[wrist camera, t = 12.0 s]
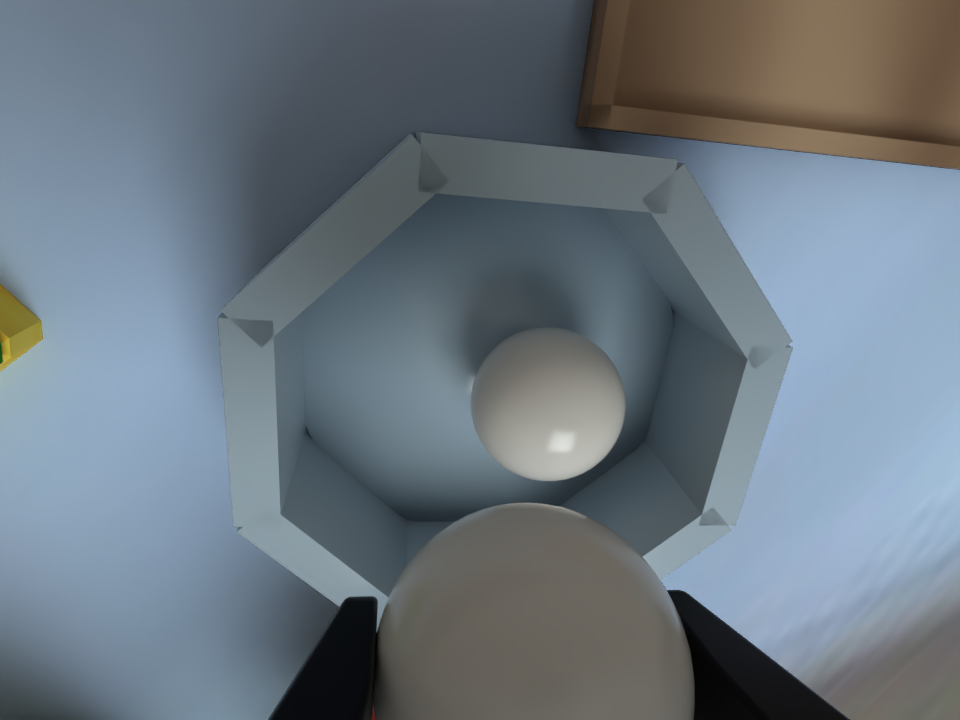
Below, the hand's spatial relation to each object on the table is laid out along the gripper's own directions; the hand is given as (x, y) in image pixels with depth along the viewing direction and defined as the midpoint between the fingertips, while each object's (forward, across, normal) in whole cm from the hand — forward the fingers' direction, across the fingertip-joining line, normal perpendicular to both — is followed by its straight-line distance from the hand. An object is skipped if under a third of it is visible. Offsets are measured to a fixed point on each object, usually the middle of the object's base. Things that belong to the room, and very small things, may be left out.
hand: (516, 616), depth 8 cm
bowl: (+9, -1, 0) cm, 9 cm away
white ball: (+8, -2, 0) cm, 9 cm away
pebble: (+1, 0, 0) cm, 1 cm away
